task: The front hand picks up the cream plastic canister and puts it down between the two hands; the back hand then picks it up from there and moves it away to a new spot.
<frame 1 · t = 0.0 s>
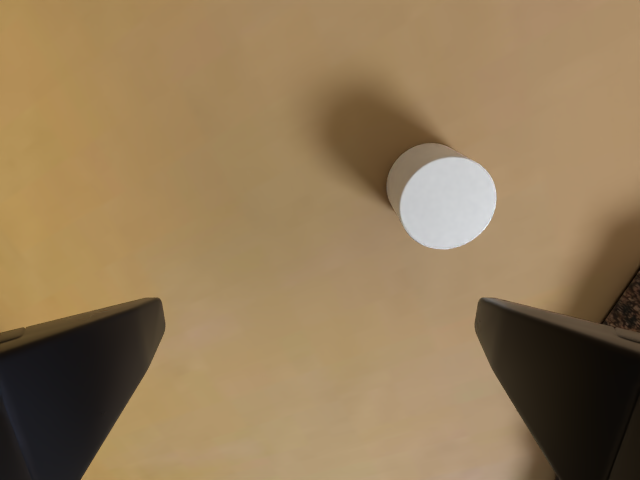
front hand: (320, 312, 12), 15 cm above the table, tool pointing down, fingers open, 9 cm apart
canister: (427, 184, 25), on the table
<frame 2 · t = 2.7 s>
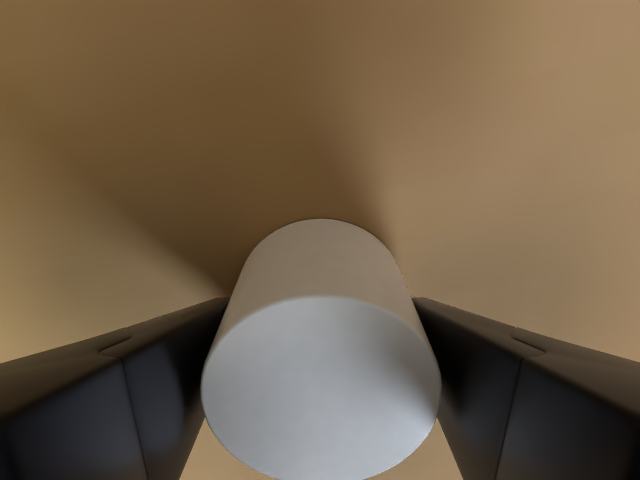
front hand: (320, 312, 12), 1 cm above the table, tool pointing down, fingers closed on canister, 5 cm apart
canister: (320, 295, 13), on the table, touching front hand
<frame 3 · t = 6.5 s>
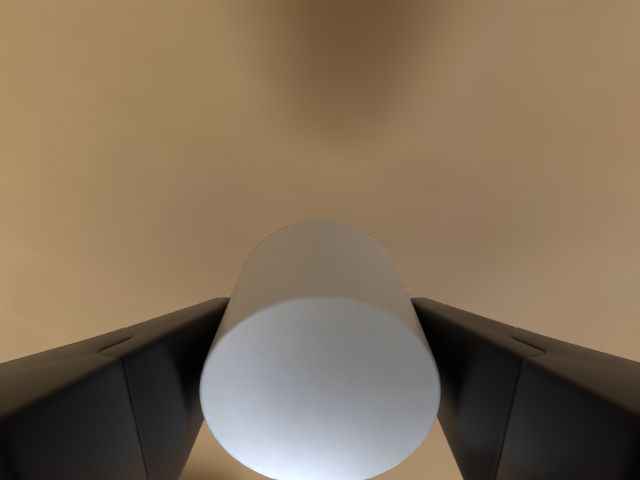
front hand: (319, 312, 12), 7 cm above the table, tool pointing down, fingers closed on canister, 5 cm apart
canister: (320, 296, 13), point 5 cm above the table, touching front hand
when the front hand's fingers open (2 cm above the table, at t = 10.6 s): canister stays where it is, on the table.
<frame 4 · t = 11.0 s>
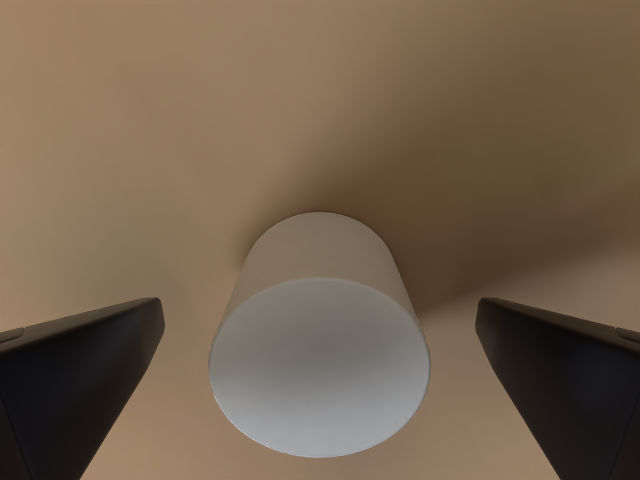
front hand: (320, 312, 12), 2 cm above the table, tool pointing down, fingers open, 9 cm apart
canister: (319, 284, 13), on the table
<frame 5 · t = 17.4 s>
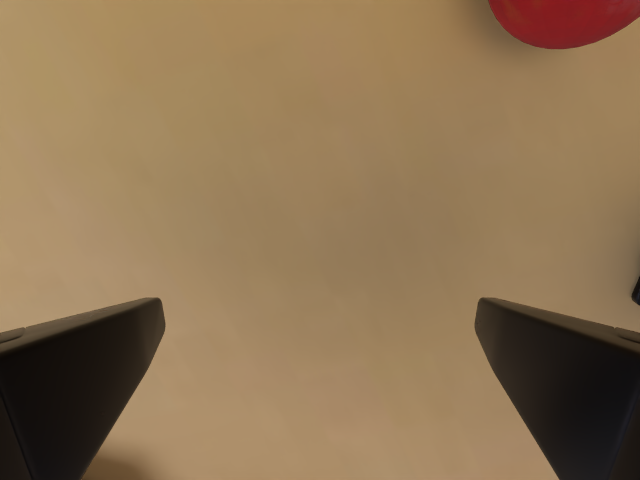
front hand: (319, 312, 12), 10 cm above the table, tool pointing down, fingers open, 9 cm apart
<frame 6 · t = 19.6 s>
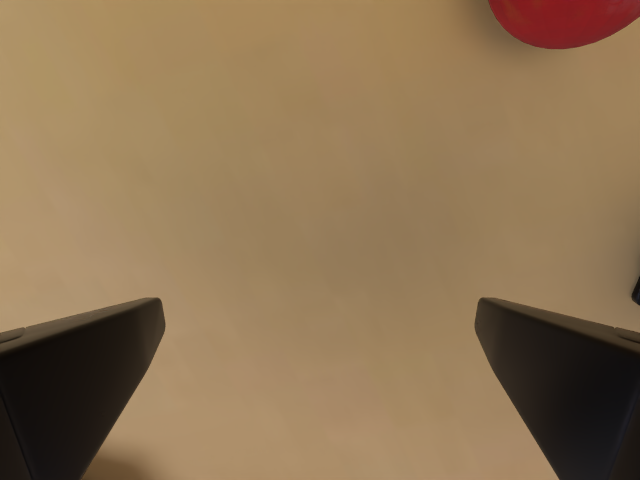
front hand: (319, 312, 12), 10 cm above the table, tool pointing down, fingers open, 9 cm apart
when the back hand's fingers open (2 cm above the table, at t = 22.2 s): canister stays where it is, on the table.
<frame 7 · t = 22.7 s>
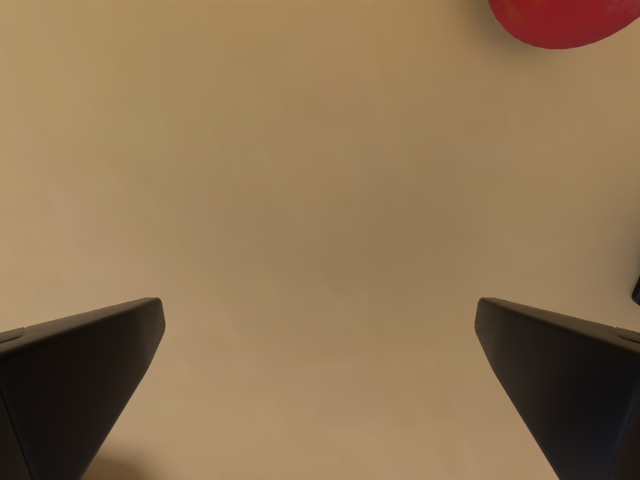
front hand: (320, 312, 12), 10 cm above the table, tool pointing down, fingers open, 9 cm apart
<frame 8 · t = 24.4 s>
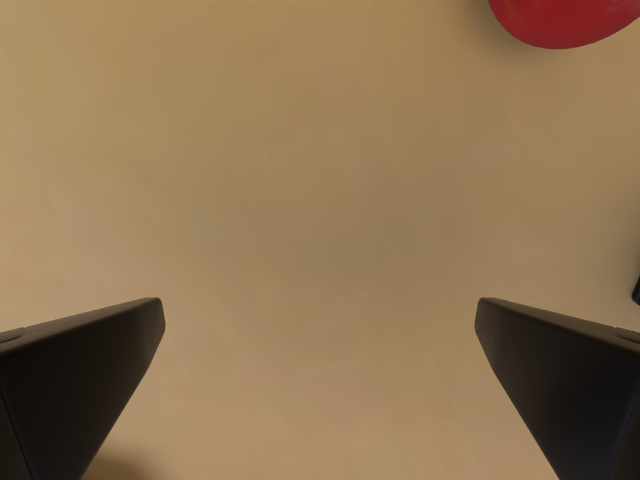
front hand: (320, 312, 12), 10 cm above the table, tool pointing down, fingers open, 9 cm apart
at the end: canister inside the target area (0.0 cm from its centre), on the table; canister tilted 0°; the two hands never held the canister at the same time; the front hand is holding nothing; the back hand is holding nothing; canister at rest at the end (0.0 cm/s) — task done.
